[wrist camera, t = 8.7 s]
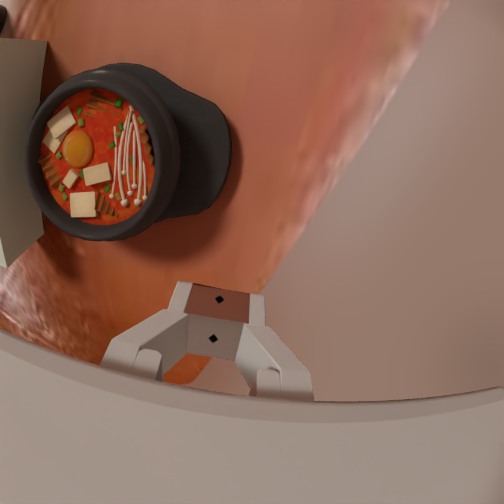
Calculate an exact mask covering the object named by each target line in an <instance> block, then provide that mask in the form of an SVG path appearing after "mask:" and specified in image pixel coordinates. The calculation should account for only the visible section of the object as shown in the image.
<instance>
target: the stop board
mask: <svg viewBox="0 0 504 504" xmlns="http://www.w3.org/2000/svg"><path fill="white" fill-rule="evenodd" d="M47 42H48V41H40V40H29V39H13V38H0V266H3V267H6V268H8V267H9V266H10V265H11V264H12V263H13V262H14V261H15V260H16V259H17V258H18V257H19V256H20V255H21V254H22V253H23V252H24V251H25V250H27V249H28V248H29V247H30V246H31V245H32V244H33V243H34V242H35V241H36V240H38V239H39V238H40V237H41V236H42V235H43V234H44V229H43V221H42V212H41V209H40V207H39V206H38V204H37V203H36V201H35V199H34V197H33V195H32V192H31V190H30V188H29V184H28V180H27V177H26V171H25V162H24V158H25V144H26V139H27V134H28V131H29V128H30V125H31V123H32V119H33V116H34V113H35V111H36V109H37V107H38V105H39V103H40V91H41V82H42V73H43V66H44V59H45V53H46V47H47Z"/></svg>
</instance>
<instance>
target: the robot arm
mask: <svg viewBox="0 0 504 504" xmlns="http://www.w3.org/2000/svg"><path fill="white" fill-rule="evenodd" d="M186 353H191V354H197V355H204V356H211V357H216V358H221V359H227V360H233V361H235V363H236V365H237V366H238V368H239V370H240V372H241V373H242V375H243V377H244V379H245V380H246V382H247V384H248V386H249V387H250V389H251V390H250V393H249V396H246V395H237V394H229V393H223V392H216V391H209V390H203V389H197V388H192V387H186V386H181V385H176V384H171V383H166V382H163V375H164V374H165V373H166V372H167V371H168V370H169V369H170V368H171V367H172V366H173V365H175V364H176V363H177V362H178V361H179V360H180V359H181V358H182V357H183V356H184V355H186ZM0 504H504V387H493V388H488V389H483V390H478V391H472V392H467V393H460V394H453V395H445V396H437V397H428V398H417V399H405V400H389V401H358V402H336V401H314V396H313V389H312V382H311V375H310V372H309V371H308V369H307V368H306V367H305V366H304V365H303V364H302V363H301V362H300V361H299V359H298V358H297V357H296V356H295V355H294V354H293V353H292V352H291V350H290V349H289V348H288V347H287V346H286V345H285V344H284V343H283V341H282V340H281V339H280V338H279V337H278V336H277V335H276V333H275V332H274V331H273V330H272V329H271V328H270V327H266V316H265V296H264V295H263V294H256V293H245V292H239V291H232V290H226V289H221V288H216V287H211V286H206V285H201V284H196V283H191V282H185V281H180V280H179V281H178V282H177V285H176V287H175V290H174V293H173V295H172V298H171V301H170V304H169V306H168V309H167V310H166V309H162V310H161V311H159V312H157V313H156V314H154V315H152V316H151V317H149V318H147V319H145V320H144V321H142V322H140V323H139V324H137V325H135V326H133V327H132V328H130V329H128V330H127V331H125V332H123V333H122V334H120V335H118V336H116V337H115V338H113V339H112V340H111V342H110V344H109V346H108V349H107V351H106V353H105V355H104V357H103V359H102V361H101V364H100V366H99V365H96V364H93V363H89V362H86V361H83V360H80V359H77V358H74V357H71V356H68V355H65V354H62V353H59V352H57V351H54V350H51V349H48V348H46V347H43V346H41V345H38V344H36V343H33V342H31V341H28V340H26V339H23V338H21V337H19V336H16V335H14V334H12V333H9V332H7V331H5V330H3V329H1V328H0Z"/></svg>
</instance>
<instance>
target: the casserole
mask: <svg viewBox="0 0 504 504" xmlns="http://www.w3.org/2000/svg"><path fill="white" fill-rule="evenodd" d="M231 150H232V144H231V136H230V129H229V126H228V123H227V120H226V117H225V115H224V114H223V112H222V111H221V110H220V109H219V108H218V106H217V105H216V104H215V103H213V102H211V101H209V100H207V99H205V98H202V97H200V96H198V95H196V94H194V93H191V92H189V91H187V90H185V89H183V88H181V87H180V86H178V85H177V84H175V83H174V82H172V81H171V80H169V79H168V78H166V77H165V76H163V75H162V74H160V73H159V72H157V71H156V70H154V69H151V68H148V67H145V66H142V65H139V64H131V63H117V64H109V65H105V66H102V67H100V68H97V69H93V70H87V71H84V72H82V73H79V74H77V75H74V76H72V77H71V78H69V79H68V80H66V81H65V82H63V83H62V84H60V85H59V86H58V87H57V88H56V89H55V90H54V91H53V92H52V93H51V94H50V95H49V96H47V97H45V98H44V99H43V100H42V102H41V103H40V104H39V105H38V107H37V109H36V111H35V113H34V116H33V119H32V123H31V125H30V128H29V131H28V134H27V139H26V144H25V158H24V162H25V171H26V177H27V180H28V184H29V188H30V190H31V192H32V195H33V197H34V199H35V201H36V203H37V204H38V206H39V207H40V209H41V210H42V212H43V213H44V214H45V215H46V217H47V218H48V219H49V220H50V221H51V222H52V223H53V224H55V225H56V226H57V227H58V228H60V229H61V230H62V231H64V232H66V233H68V234H70V235H72V236H74V237H77V238H80V239H84V240H89V241H116V240H123V239H126V238H129V237H132V236H135V235H137V234H139V233H140V232H142V231H144V230H145V229H147V228H149V227H150V226H151V225H152V224H153V223H156V222H158V221H161V220H164V219H167V218H173V217H180V216H186V215H193V214H199V213H200V212H202V211H204V210H205V209H207V208H209V207H210V206H211V205H212V203H213V202H214V201H215V200H216V198H217V197H218V196H219V194H220V192H221V190H222V188H223V186H224V184H225V182H226V179H227V175H228V171H229V168H230V164H231Z"/></svg>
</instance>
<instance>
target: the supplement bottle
mask: <svg viewBox="0 0 504 504" xmlns="http://www.w3.org/2000/svg"><path fill="white" fill-rule="evenodd" d="M5 19H6V10H5V8H4V6H2V5H0V33H1V31H2V29H3V26H4V23H5Z"/></svg>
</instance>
